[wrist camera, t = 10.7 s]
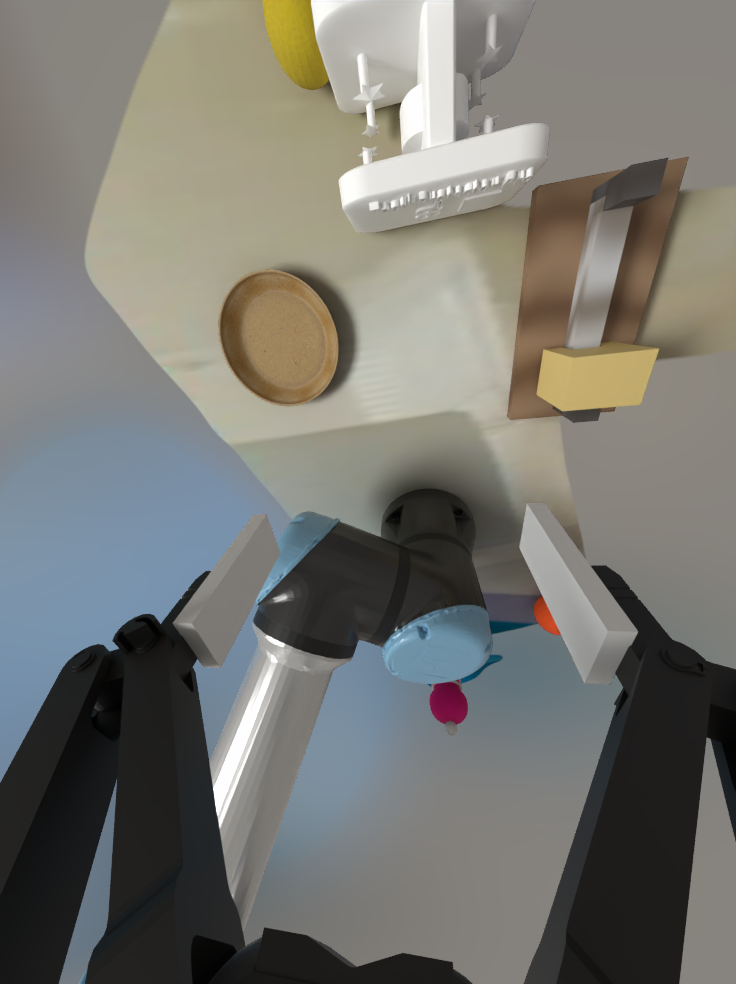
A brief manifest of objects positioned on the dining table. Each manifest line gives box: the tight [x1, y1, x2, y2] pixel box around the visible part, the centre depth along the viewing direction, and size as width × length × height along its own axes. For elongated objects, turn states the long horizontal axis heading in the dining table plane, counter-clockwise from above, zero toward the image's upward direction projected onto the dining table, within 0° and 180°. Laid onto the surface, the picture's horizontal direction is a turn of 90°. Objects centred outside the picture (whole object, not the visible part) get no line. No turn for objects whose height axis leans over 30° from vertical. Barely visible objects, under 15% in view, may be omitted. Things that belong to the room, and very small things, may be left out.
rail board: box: [507, 157, 689, 423], centre depth 30 cm, size 22×12×7 cm, turn 7°
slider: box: [536, 342, 659, 411], centre depth 32 cm, size 5×7×7 cm
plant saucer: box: [218, 269, 339, 406], centre depth 37 cm, size 15×15×3 cm
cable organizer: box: [311, 0, 550, 233], centre depth 24 cm, size 15×11×12 cm
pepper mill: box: [430, 679, 468, 735], centre depth 54 cm, size 7×7×20 cm
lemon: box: [263, 0, 329, 90], centre depth 23 cm, size 6×6×8 cm
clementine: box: [534, 596, 561, 635], centre depth 53 cm, size 8×7×7 cm
